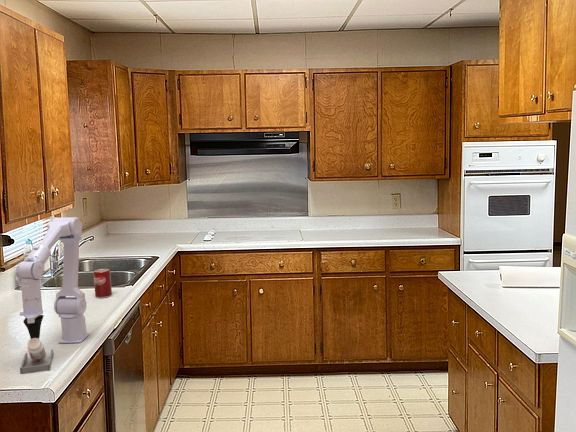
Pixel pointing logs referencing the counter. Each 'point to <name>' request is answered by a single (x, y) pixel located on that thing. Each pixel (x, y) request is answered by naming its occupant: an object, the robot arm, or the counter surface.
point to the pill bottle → (36, 349)
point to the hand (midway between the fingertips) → (35, 339)
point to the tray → (35, 365)
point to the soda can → (102, 283)
